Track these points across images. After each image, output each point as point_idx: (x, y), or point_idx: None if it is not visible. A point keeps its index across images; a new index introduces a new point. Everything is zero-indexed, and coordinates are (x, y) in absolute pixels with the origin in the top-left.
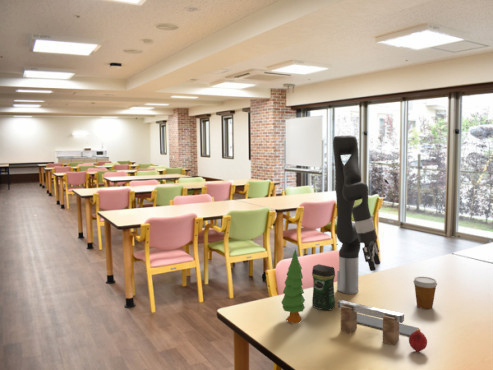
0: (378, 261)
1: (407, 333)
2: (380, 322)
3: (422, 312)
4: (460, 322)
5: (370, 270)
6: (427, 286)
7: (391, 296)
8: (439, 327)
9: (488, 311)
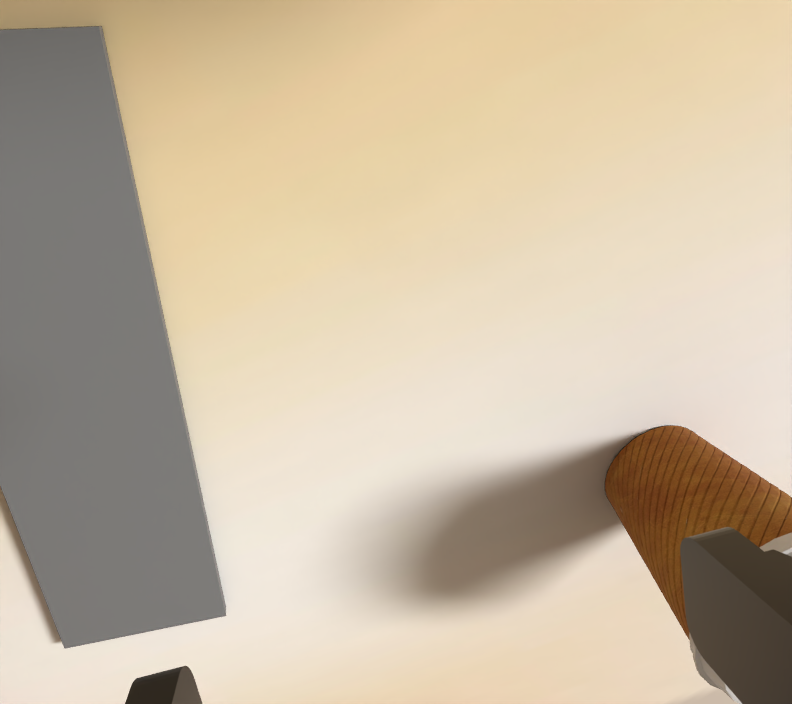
0: (729, 674)
1: (69, 613)
2: (94, 407)
3: (537, 503)
4: (494, 679)
5: (138, 680)
6: (696, 665)
7: (781, 198)
8: (349, 652)
9: (714, 688)
